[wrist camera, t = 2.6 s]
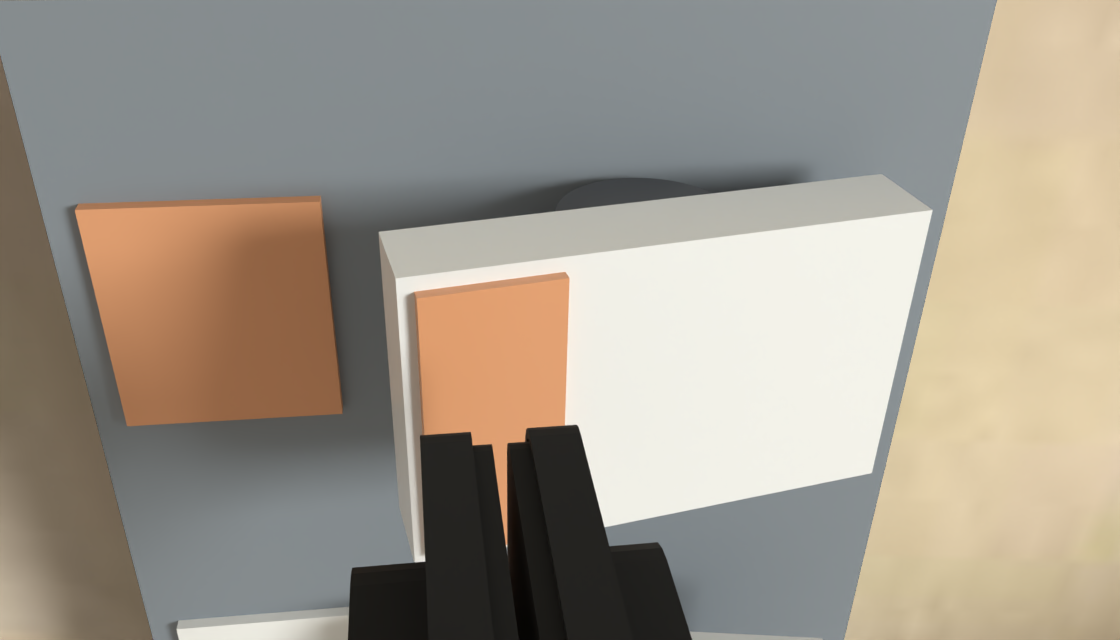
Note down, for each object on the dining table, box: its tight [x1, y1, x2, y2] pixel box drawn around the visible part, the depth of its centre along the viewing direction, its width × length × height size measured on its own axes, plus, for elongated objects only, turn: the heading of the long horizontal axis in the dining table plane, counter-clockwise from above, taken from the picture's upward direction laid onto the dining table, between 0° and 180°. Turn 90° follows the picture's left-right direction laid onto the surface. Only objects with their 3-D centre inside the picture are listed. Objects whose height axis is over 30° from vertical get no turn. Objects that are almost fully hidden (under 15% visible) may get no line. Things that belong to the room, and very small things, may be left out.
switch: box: [379, 174, 933, 562], centre depth 15 cm, size 7×4×3 cm, turn 89°
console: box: [0, 0, 997, 640], centre depth 21 cm, size 13×25×4 cm, turn 179°
